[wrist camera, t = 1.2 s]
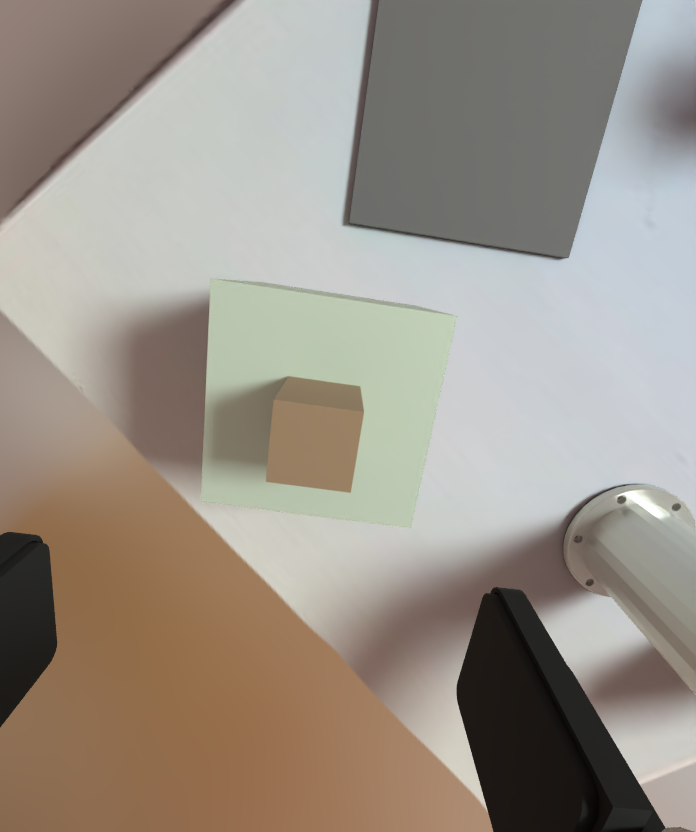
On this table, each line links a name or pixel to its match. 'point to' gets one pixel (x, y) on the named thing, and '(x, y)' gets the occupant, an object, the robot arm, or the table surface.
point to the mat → (488, 117)
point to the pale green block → (319, 401)
